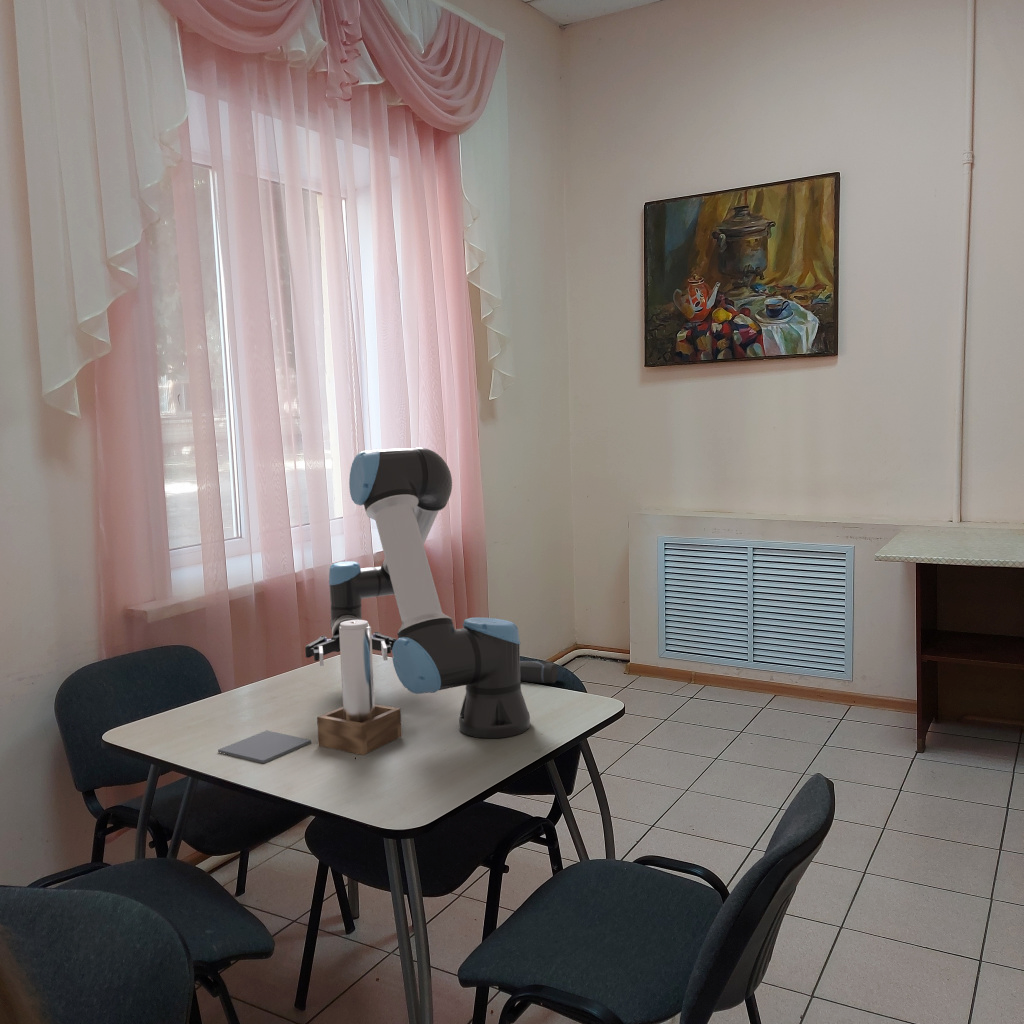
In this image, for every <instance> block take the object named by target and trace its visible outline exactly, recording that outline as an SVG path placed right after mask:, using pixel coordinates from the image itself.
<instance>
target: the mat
mask: <svg viewBox="0 0 1024 1024" xmlns="http://www.w3.org/2000/svg"><path fill="white" fill-rule="evenodd" d="M309 744H312V740H311V739H309V738H304V737H299V736H294V735H290V734H286V733H282V732H276V731H272V730H265V731H261V732H260V733H257V734H254V735H252V736H249V737H246V738H245V739H244V738H243V739H242V740H239V741H236V742H234V743H231V744H229V745H226V746H224V747H222V748H219V749H217V753H218V752H221V753H220V754H222V753H225V754H224V755H227V754H228V756H231V757H235V758H240V759H244V760H248V761H252V762H256V763H259V764H266V763H268V762H270V761H273V760H275V759H277V758H279V757H282V756H284V755H287V754H289V753H292V752H293V751H295V750H296V751H297V750H298V749H300V748H303V747H305V746H308V745H309Z"/></svg>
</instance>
